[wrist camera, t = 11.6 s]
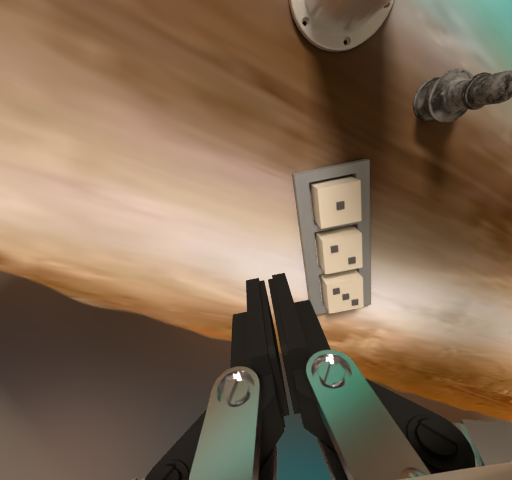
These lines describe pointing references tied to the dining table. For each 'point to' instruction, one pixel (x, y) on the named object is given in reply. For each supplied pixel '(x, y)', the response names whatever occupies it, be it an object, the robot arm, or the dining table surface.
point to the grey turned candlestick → (460, 94)
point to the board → (307, 227)
